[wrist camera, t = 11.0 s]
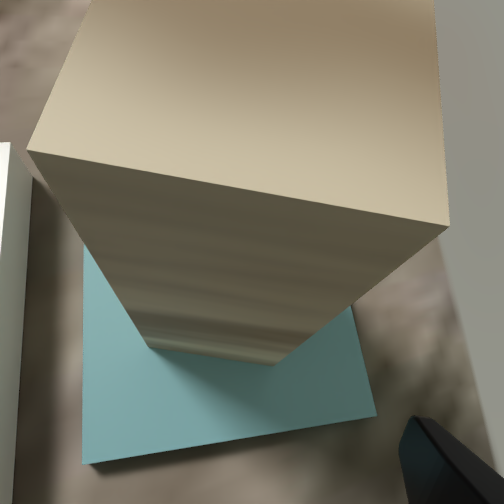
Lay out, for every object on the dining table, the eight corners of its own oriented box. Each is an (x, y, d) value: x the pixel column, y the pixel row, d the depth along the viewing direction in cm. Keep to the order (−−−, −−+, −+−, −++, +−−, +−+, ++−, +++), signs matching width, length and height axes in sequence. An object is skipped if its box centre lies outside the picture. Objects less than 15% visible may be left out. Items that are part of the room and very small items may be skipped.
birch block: (273, 366, 16) (449, 226, 5) (147, 346, 16) (25, 149, 5) (285, 252, 18) (431, -34, 7) (174, 233, 18) (135, -99, 7)
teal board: (369, 416, 17) (377, 416, 16) (87, 463, 15) (82, 464, 14) (315, 186, 21) (319, 177, 20) (88, 200, 19) (84, 191, 18)
